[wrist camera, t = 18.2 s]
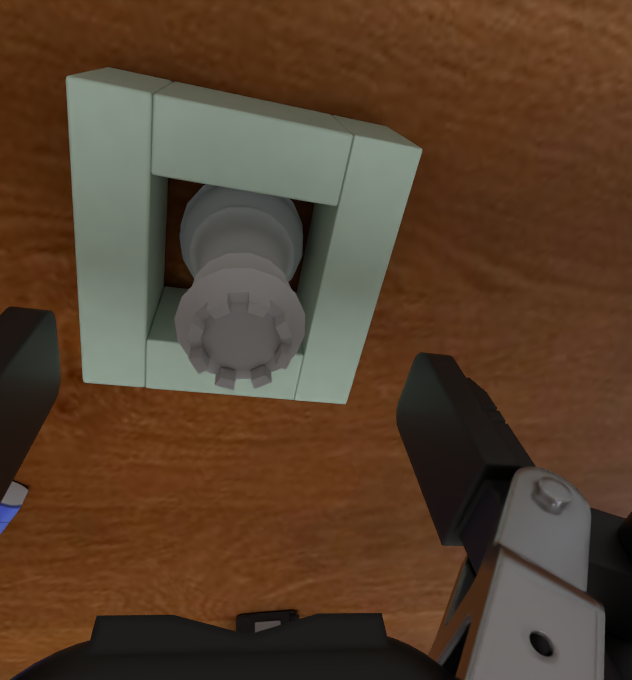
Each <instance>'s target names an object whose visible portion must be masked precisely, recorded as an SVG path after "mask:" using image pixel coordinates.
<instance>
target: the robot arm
mask: <svg viewBox="0 0 632 680" xmlns="http://www.w3.org/2000/svg"><path fill="white" fill-rule="evenodd" d="M60 378H61V372H60V361H59V350H58V339H57V328H56V319H55V316H54V313H53V312H52V311H48V310H39V309H30V308H21V307H8V308H7V309H6V310H5V311H4V312H3V313H2V314H1V315H0V503H1V501H2V500H3V498H4V496H5V494H6V492H7V490H8V488H9V486H10V485H11V483H12V481H13V479H14V477H15V475H16V473H17V472H18V470H19V468H20V466H21V464H22V462H23V460H24V459H25V457H26V455H27V453H28V451H29V449H30V447H31V445H32V444H33V442H34V440H35V438H36V436H37V434H38V432H39V431H40V429H41V427H42V425H43V423H44V421H45V419H46V418H47V416H48V414H49V412H50V410H51V408H52V406H53V404H54V403H55V400H56V398H57V395H58V391H59V386H60ZM496 409H497V407H496V406H495V404H494V403H493V401H492V400H491V398H490V397H489V395H488V394H487V392H485V391H484V390H483V389H482V388H481V387H480V386H478V385H477V384H476V383H475V382H474V381H472V380H471V379H470V378H466V377H465V375H464V374H463V372H462V371H461V369H460V368H459V366H458V364H457V363H456V361H455V360H454V358H453V357H452V356H449V355H439V354H430V353H419V354H418V355H417V356H416V357H415V359H414V361H413V364H412V367H411V370H410V372H409V375H408V378H407V380H406V383H405V386H404V389H403V391H402V394H401V397H400V399H399V402H398V406H397V414H396V419H397V426H398V430H399V432H400V435H401V438H402V440H403V443H404V446H405V448H406V451H407V454H408V456H409V459H410V462H411V464H412V467H413V470H414V472H415V475H416V477H417V480H418V483H419V485H420V488H421V491H422V493H423V496H424V499H425V501H426V504H427V507H428V509H429V512H430V515H431V517H432V520H433V523H434V525H435V528H436V530H437V533H438V536H439V538H440V541H441V544H442V545H446V546H464V548H465V550H466V552H467V556H466V557H465V559H464V561H463V563H462V565H461V567H460V570H459V573H458V576H457V579H456V582H455V585H454V587H453V590H452V593H451V596H450V599H449V602H448V605H447V607H446V610H445V613H444V616H443V619H442V622H441V625H440V627H439V630H438V633H437V636H436V638H435V641H434V643H433V645H432V648H431V650H430V652H429V654H428V656H427V655H426V654H425V653H423V652H421V651H419V650H418V649H416V648H414V647H412V646H410V645H409V644H406V643H404V642H401V641H399V640H397V639H394V638H391V637H387V635H386V630H385V626H384V621H383V617H382V613H340V614H315V615H312V616H308V617H305V618H302V619H298V620H295V621H292V622H288V623H285V624H282V625H278V626H275V627H272V628H268V629H265V630H261V631H258V632H254V633H240V632H236V631H232V630H228V629H224V628H221V627H217V626H213V625H209V624H206V623H202V622H198V621H194V620H190V619H187V618H183V617H179V616H175V615H117V616H97V617H96V621H95V624H94V628H93V632H92V636H91V639H90V641H86V642H83V643H79V644H76V645H73V646H71V647H68V648H66V649H63V650H61V651H58V652H56V653H54V654H52V655H50V656H48V657H46V658H44V659H42V660H40V661H39V662H37V663H35V664H33V665H32V666H30V667H29V668H27V669H25V670H24V671H22V672H21V673H19V674H18V675H16V676H15V677H13V678H12V679H10V680H632V512H631V513H630V514H629V516H628V517H627V518H626V519H625V518H622V517H619V516H616V515H612V514H609V513H606V512H603V511H600V510H596V509H593V508H590V507H589V504H588V502H587V501H586V499H585V498H584V496H583V495H582V494H581V493H580V491H579V490H578V489H577V488H576V487H575V486H574V485H572V484H571V483H570V482H569V481H567V480H566V479H564V478H563V477H561V476H559V475H557V474H556V473H553V472H551V471H549V470H546V469H543V468H539V467H536V466H535V465H534V463H533V462H532V460H531V459H530V457H529V456H528V454H527V453H526V451H525V450H524V448H523V447H522V445H521V444H520V442H519V441H518V439H517V438H516V436H515V435H514V433H513V432H512V430H511V429H510V427H509V426H508V424H505V419H504V418H503V416H502V415H501V413H500V412H499V411H497V410H496Z"/></svg>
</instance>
